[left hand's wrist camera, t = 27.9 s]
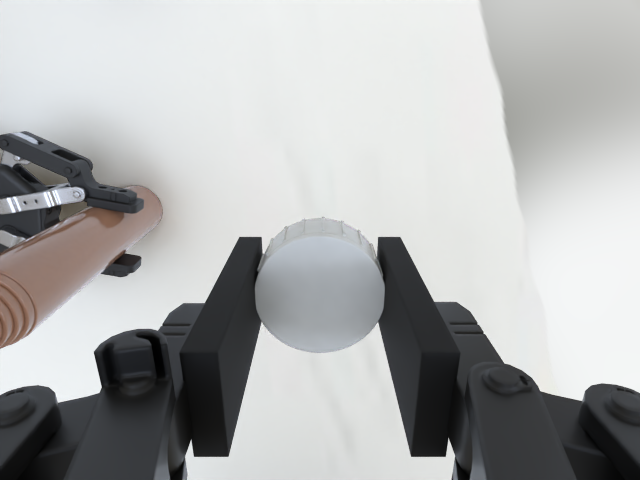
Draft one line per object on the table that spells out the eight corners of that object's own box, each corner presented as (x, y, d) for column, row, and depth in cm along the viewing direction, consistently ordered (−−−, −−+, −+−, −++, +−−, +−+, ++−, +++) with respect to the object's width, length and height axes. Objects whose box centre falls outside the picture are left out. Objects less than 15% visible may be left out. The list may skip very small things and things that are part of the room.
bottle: (160, 186, 40) (-46, 315, 17) (164, 231, 42) (-20, 404, 19) (111, 184, 40) (-158, 311, 17) (117, 229, 42) (-122, 400, 19)
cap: (297, 194, 13) (293, 209, 12) (402, 253, 14) (413, 275, 13) (240, 292, 15) (229, 319, 13) (340, 341, 15) (342, 373, 14)
